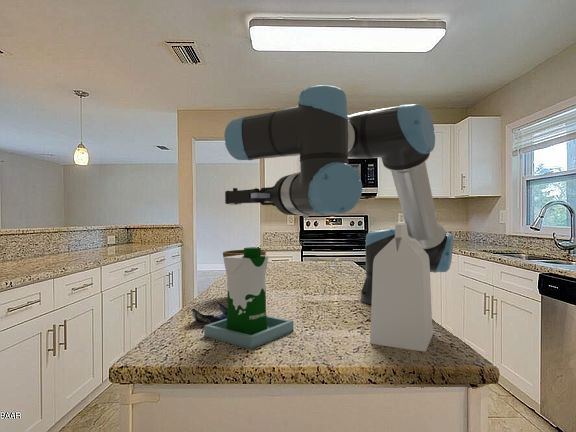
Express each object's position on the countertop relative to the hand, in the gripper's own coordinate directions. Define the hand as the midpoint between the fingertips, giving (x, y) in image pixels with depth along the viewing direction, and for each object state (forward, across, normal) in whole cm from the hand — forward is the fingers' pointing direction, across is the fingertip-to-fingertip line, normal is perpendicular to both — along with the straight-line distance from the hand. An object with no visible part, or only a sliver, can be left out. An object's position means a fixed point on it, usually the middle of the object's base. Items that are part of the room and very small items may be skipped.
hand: (260, 199), depth 88 cm
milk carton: (+4, -2, -32) cm, 32 cm away
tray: (+4, -2, -32) cm, 32 cm away
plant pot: (+43, +9, -32) cm, 55 cm away
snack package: (+17, -6, -33) cm, 37 cm away
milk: (-15, +28, -32) cm, 45 cm away
